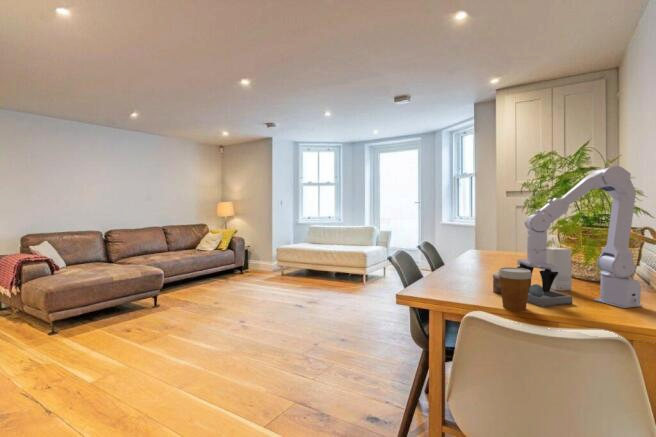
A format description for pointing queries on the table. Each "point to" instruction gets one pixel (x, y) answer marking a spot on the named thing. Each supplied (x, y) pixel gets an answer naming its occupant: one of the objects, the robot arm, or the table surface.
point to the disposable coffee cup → (514, 287)
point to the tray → (550, 299)
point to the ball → (536, 290)
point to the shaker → (496, 284)
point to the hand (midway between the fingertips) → (536, 289)
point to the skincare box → (560, 267)
